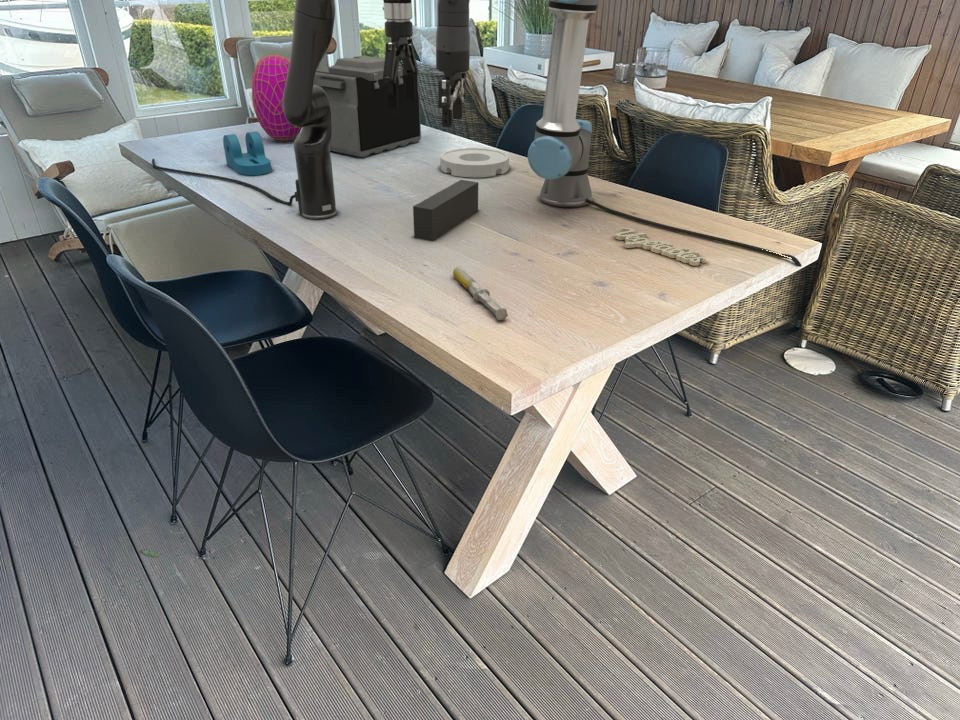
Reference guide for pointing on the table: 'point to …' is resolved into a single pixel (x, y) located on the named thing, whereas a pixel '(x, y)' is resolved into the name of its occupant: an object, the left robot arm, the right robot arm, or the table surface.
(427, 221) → the bar
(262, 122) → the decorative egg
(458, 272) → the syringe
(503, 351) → the table surface
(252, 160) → the camera mount
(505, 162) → the ashtray
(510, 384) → the table surface
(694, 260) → the decorative sign
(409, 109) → the cooler box
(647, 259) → the table surface
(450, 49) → the left robot arm
